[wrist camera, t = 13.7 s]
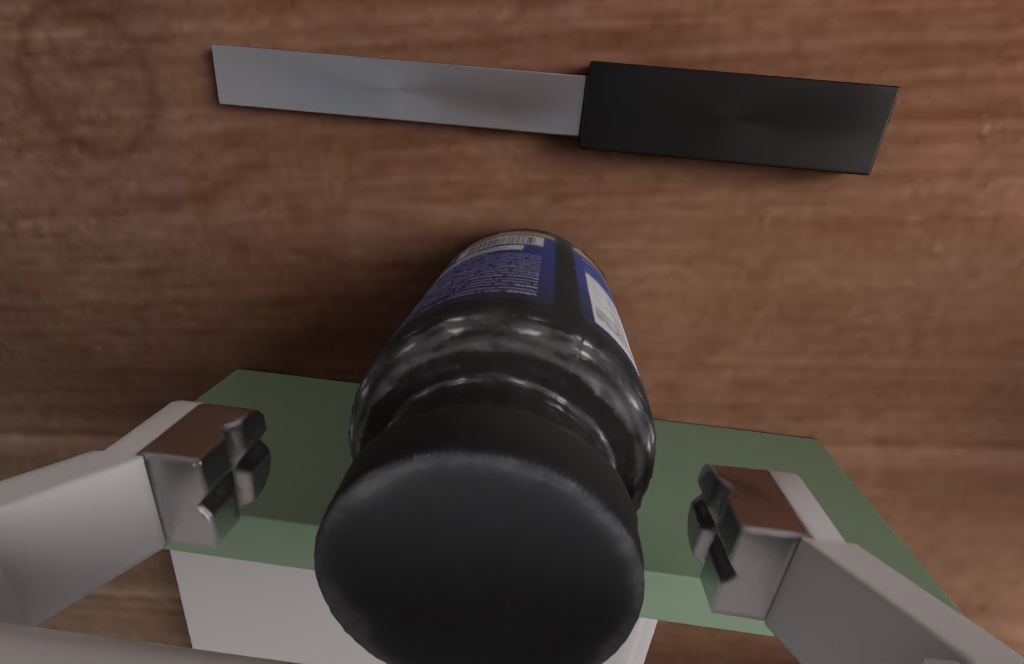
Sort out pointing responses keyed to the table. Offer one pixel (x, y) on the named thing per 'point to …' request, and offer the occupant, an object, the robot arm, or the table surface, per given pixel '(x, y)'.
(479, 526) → the pill bottle
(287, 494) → the green board
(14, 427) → the table surface
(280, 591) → the white rectangular block
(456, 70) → the table knife
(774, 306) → the table surface
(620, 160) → the table surface
